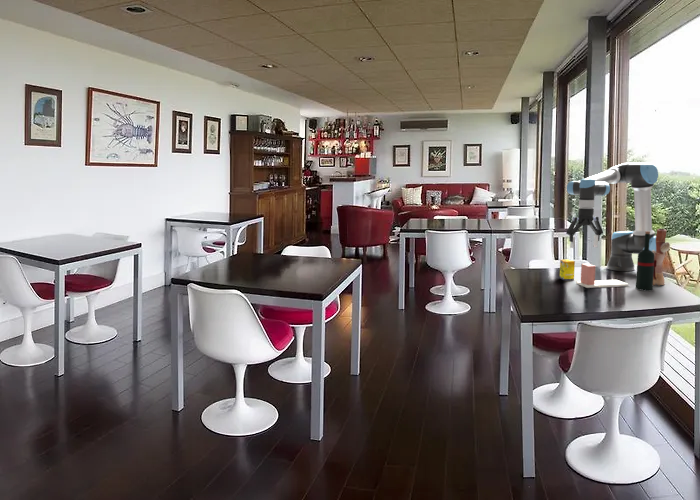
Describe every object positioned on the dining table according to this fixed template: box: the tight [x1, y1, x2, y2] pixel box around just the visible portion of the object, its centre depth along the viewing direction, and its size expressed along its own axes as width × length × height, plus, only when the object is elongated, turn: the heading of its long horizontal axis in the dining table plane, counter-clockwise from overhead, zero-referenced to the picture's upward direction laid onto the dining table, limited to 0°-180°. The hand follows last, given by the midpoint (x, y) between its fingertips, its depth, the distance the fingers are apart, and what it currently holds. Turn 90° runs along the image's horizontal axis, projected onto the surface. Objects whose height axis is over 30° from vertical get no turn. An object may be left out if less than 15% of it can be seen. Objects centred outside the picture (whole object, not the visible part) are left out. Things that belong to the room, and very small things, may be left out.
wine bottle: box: [635, 231, 657, 292], centre depth 297 cm, size 8×10×30 cm
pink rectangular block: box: [575, 263, 600, 289], centre depth 308 cm, size 7×11×11 cm, turn 7°
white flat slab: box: [595, 279, 630, 288], centre depth 310 cm, size 16×11×1 cm
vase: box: [652, 228, 671, 287], centre depth 306 cm, size 10×7×30 cm
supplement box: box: [559, 259, 576, 281], centre depth 324 cm, size 6×6×11 cm
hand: (583, 247), depth 309 cm, fingers open, 13 cm apart
